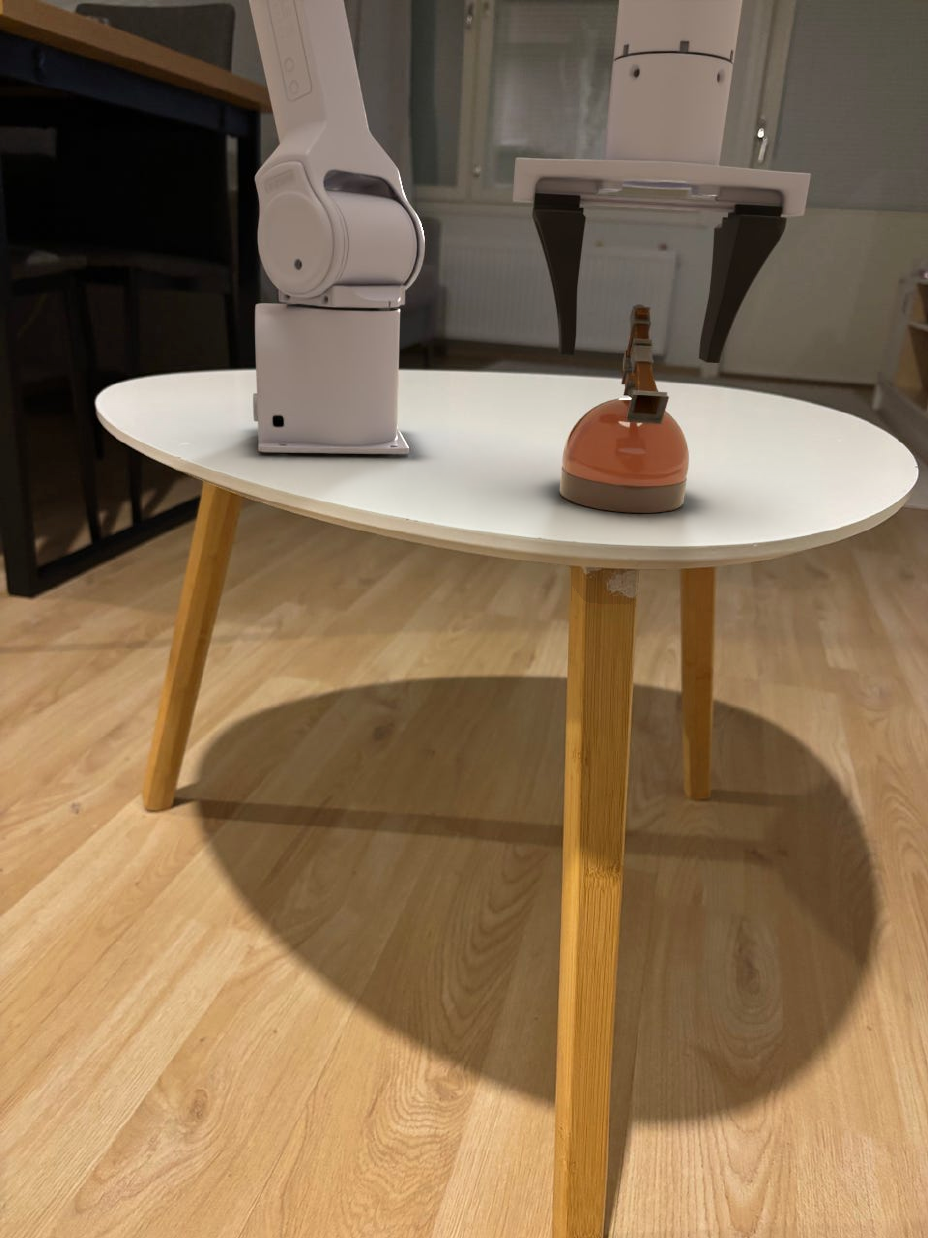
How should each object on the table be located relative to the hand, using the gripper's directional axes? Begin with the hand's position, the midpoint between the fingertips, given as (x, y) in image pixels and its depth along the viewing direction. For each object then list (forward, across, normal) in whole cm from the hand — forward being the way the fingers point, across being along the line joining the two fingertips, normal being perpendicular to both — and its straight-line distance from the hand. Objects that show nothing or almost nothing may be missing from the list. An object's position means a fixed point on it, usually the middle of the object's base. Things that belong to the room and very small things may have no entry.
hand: (637, 356), depth 49 cm
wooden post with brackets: (+2, 0, +1) cm, 3 cm away
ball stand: (+9, 0, 0) cm, 9 cm away
